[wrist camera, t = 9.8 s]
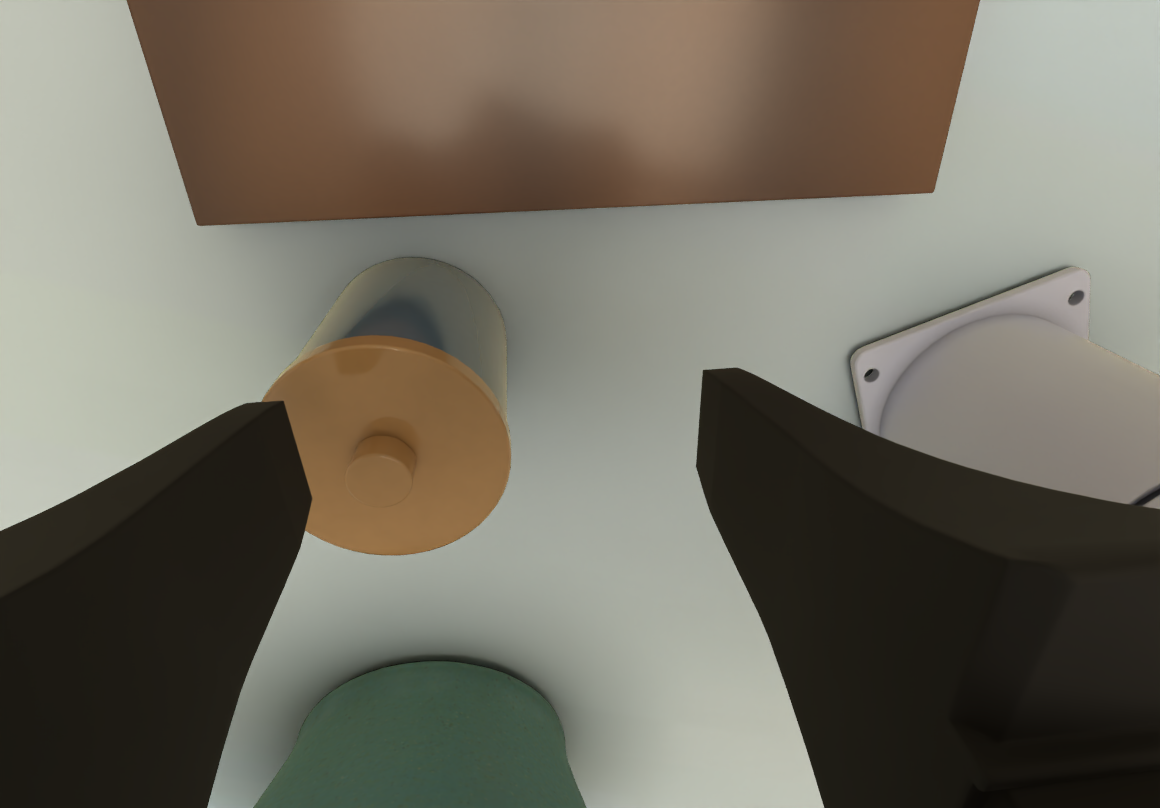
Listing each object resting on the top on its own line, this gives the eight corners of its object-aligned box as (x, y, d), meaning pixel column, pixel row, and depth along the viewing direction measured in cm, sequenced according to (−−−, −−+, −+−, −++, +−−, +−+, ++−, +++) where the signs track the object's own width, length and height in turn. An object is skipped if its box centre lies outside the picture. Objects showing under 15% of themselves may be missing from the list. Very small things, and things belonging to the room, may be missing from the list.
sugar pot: (537, 380, 21) (551, 529, 14) (386, 440, 22) (333, 611, 15) (461, 223, 18) (436, 318, 12) (291, 296, 19) (174, 426, 12)
